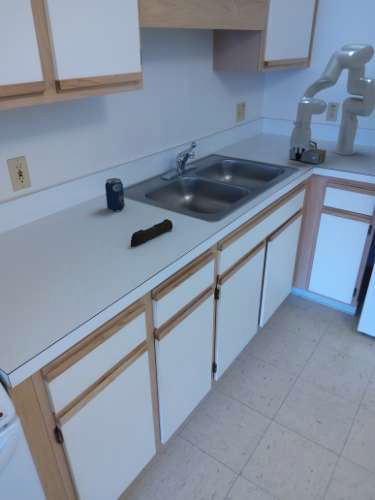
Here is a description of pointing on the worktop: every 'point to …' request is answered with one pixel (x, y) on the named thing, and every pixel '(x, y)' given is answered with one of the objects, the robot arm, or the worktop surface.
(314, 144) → the grey arched panel
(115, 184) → the soda can
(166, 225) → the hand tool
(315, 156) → the door
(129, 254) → the worktop surface
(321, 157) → the cabinet
